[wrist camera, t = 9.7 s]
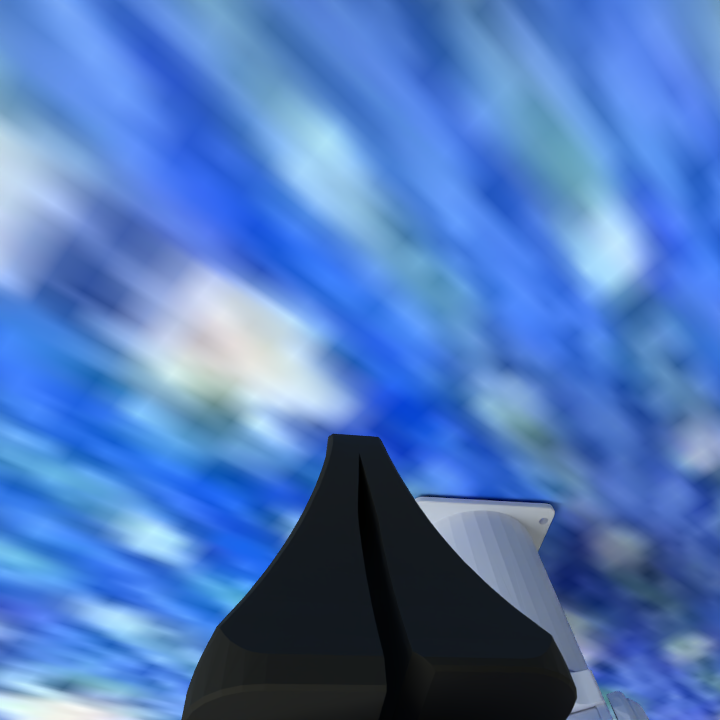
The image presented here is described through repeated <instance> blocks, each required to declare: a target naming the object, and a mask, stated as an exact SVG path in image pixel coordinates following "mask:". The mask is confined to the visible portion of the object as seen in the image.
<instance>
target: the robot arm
mask: <svg viewBox="0 0 720 720" xmlns="http://www.w3.org/2000/svg"><path fill="white" fill-rule="evenodd" d="M554 515H555V511H554V509H553V507H552V505H550V504H545V503H527V502H509V501H491V500H473V499H455V498H438V497H418V498H416V499H414V498H413V496H412V494H411V493H410V491H409V490H408V488H407V487H406V485H405V483H404V482H403V480H402V478H401V477H400V475H399V473H398V472H397V470H396V468H395V466H394V464H393V463H392V461H391V459H390V457H389V455H388V453H387V451H386V449H385V447H384V445H383V443H382V441H381V440H380V438H379V437H372V436H357V435H343V434H332V435H331V436H329V437H328V443H327V451H326V458H325V461H324V465H323V468H322V470H321V473H320V476H319V478H318V481H317V483H316V486H315V488H314V491H313V493H312V495H311V497H310V499H309V501H308V503H307V505H306V507H305V509H304V511H303V513H302V515H301V517H300V519H299V521H298V522H297V524H296V526H295V528H294V529H293V531H292V532H291V534H290V536H289V537H288V539H287V541H286V542H285V544H284V545H283V547H282V548H281V550H280V551H279V553H278V554H277V556H276V557H275V558H274V560H273V561H272V563H271V564H270V565H269V567H268V568H267V569H266V571H265V572H264V573H263V574H262V576H261V577H260V578H259V579H258V581H257V582H256V583H255V584H254V586H253V587H252V588H251V589H250V591H249V592H248V593H247V594H246V595H245V597H244V598H243V599H242V600H241V601H240V602H239V603H238V604H237V605H236V607H235V608H234V609H233V610H232V611H231V612H230V613H229V614H228V615H227V616H226V617H225V618H224V619H223V620H222V622H221V623H220V624H219V625H218V626H217V627H216V629H215V631H214V633H213V635H212V637H211V639H210V641H209V642H208V644H207V646H206V648H205V650H204V652H203V654H202V656H201V658H200V660H199V662H198V665H197V667H196V669H195V671H194V674H193V676H192V679H191V682H190V685H189V688H188V691H187V695H186V700H185V705H184V710H183V715H182V720H613V719H612V716H611V714H610V712H609V710H608V707H607V705H606V703H605V701H604V698H603V696H602V694H601V691H600V689H599V687H598V685H597V682H596V680H595V678H594V675H593V673H592V671H591V670H590V669H588V667H587V664H586V662H585V660H584V657H583V655H582V653H581V650H580V648H579V646H578V644H577V641H576V639H575V637H574V634H573V632H572V630H571V627H570V625H569V623H568V621H567V618H566V616H565V614H564V611H563V609H562V607H561V604H560V602H559V600H558V598H557V595H556V593H555V591H554V588H553V586H552V584H551V582H550V579H549V577H548V575H547V572H546V570H545V568H544V565H543V563H542V561H541V559H540V556H539V554H538V551H539V548H540V546H541V544H542V542H543V539H544V537H545V535H546V533H547V531H548V528H549V526H550V524H551V522H552V519H553V517H554ZM542 518H543V519H542ZM607 697H608V699H609V702H610V704H611V706H612V709H613V711H614V713H615V716H616V718H617V720H649V719H648V717H647V715H646V713H645V712H644V710H643V708H642V707H641V706H640V705H639V704H638V703H636V702H634V701H633V700H631V699H629V698H626V697H625V696H624V695H623V693H622V692H620V691H615V692H613V693H610V694H607Z"/></svg>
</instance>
